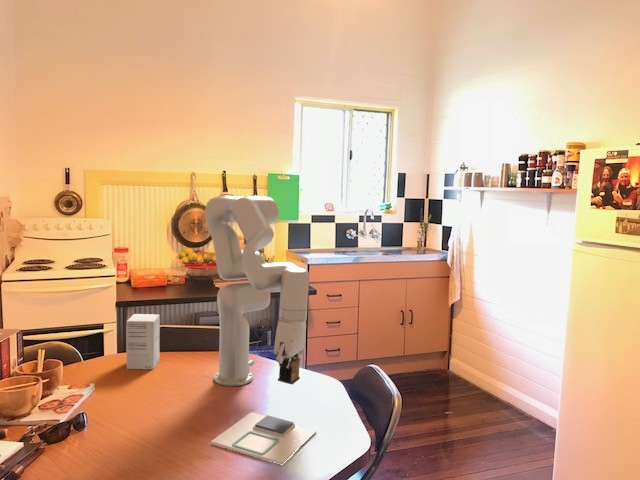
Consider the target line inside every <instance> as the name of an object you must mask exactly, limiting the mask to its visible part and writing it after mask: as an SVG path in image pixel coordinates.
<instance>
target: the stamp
mask: <svg viewBox="0 0 640 480" xmlns="http://www.w3.org/2000/svg"><path fill="white" fill-rule="evenodd" d="M284 360H286V362H287V359H286V358H284ZM300 362H301V359H300V358H296V357H291V363H290V368H291V381H290V382H286V381H282V380H280V379H279V377H278V378H277V381H278V382H281V383H285V384H289V385H294V384H295V383H296V382H298V381H299V380H300V378H301V377H300ZM278 372H279V373H278V375H280V371H278Z"/></svg>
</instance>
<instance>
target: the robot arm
mask: <svg viewBox="0 0 640 480" xmlns="http://www.w3.org/2000/svg"><path fill="white" fill-rule="evenodd" d="M204 209H205V210H204V211H205V212H204V217H205V223H206V226H207V229H208V231H209V234H210V237H211V240H212V243H213V249H214V256H215V257H214V259H215V263H216V269H217V273H218V276H219V277H220V278H221V280H224V281H237V280H248V282H238V283H229V284H226V285H224V286H222V287H220V289H218V292H217V296H216V297H217V298H216V302H217V307H218V314H219V317H218V318H219V343H218V344H219V346H218V347H219V348H218V353H219V357H218V371H217V372H215V373H214V375H213V381H214V382H215V383H216V384H218V385H221V386H226V387H227V386H228V387H236V386H239V387H240V386H243V385H246V384H248V383H250V382H252V381H253V379H254V375H253V373H252V372H251V371H250V368H251V367H253V366H255V364H256V363H255V361H254V359H249V355H250V352H249V351H250V324H249V322H248V320H247V319H246V318H245V316H244V313H249V312H257V311H261V310H264V309H266V308H268V307H269V305H270V303H271V291H277V290H280V292H279V293H280V294H279V308H278V309H279V311H278V322H277V325H276V331H275V339H274V348H273V354H274V355H275V356H276V359H275V361H276V363H278V367H279V372H280V375H279V374H278V375H279V376H278V378H279V379H280V380H282V381H286V382H290V381H291V368H290V363H291V357H296V358H300V360H301V355H302V351H303V350H304V349H305V346H306V337H307V336H306V335H307V334H306V333H307V332H306V331H307V330H306V328H307V323H306V321H307V316H308V301H309V287H310V273H309V271H308V270H307V269H305V268H302V267H299V266H297V265H296V264H295V263H293V262H290V261H284V262H283V261H282V262H280V261H279V262H266V261H265V259H264V257H263V255H262V253H260V250H262V249H264V248H265V247H267V246H268V245H269V244H270V243H271V242H272V241H273V239H274V236H275V234H274V233H275V232H274V229H273V228H272V226H271V225H270V224H273V223H275V222H276V221H277V220H278V217H279V213H280V212H279V206H278V204H277V202H276V201H275V200H274V199H273V198H271V197H268V196H238V195H236V196H234V195H233V196H232V195H220V196H215V197H212V198H210V199H209V200H208V201H207V202H206V205H205V208H204ZM229 223H236V224H237V226H238V227H239V230H240V231H241V234H242V236H243V239H244V240H245V242H246V244H245V245H244V247H243V249H242V248H241V247H242V246H241V243H240V237H239V235H238V233H237V232H236V231H235V229H234V228H233V227H232V226H231V224H229ZM284 358H286V359H287V362H286V360H284Z"/></svg>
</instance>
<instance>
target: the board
mask: <svg viewBox="0 0 640 480" xmlns="http://www.w3.org/2000/svg"><path fill="white" fill-rule="evenodd" d="M296 424H297V423H294V421H290V420H287V419H283V418H279V417H276V416H271V415H262V414H260V413H259V414H258V413H256V412H253V411H252V412H250V413H248V414H247V415H245V416H244V417H242V418H241V419H240V420H238V421H237V422H236V423H234V424H233V425H231V427H228V428H227V429H225V430H224V431H223V432H221V433H220V434H219V435H218V436H216V437H215V438H214V439H212V440H211V442H210V444H211V445H212V446H216V447H219V448H222V449H225V448H227V449H226V450H228V451H232V450H233V452H235V451H237V452H236V453H238V452H240V454H242V453H244V454H243V455H245V454H247V455H246V456H248V455H251V456H254V457H253V458H255V457H257V458H256V459H258V458H261V459H265V460H268V461H272V462H276V463H279V464H283V463H284V462H285V461H286V460H287V459H288V458H289V457H290V456H291V455H292V454H293V452H295V450H296V449H297V448H298V447H299V446H300V445H301V444H302V443H303V442H304V441H305V440H306V439H304V438H305V436H306V437H307V438H308V437H309V436H308V435H305V434H306V433H303V434H300V432H301V433H302V432H304V431H306V430H303V431H299V430H300V429H302V428H303V427H302V428H298V429H295V428H297V426H295V425H296ZM299 427H300V426H299ZM293 429H295V430H293ZM297 431H299V432H297ZM301 435H305V436H301ZM297 436H298V437H297ZM300 438H302V440H300ZM294 440H295V441H294ZM300 441H301V442H300ZM251 456H250V457H251ZM261 459H260V460H261ZM268 461H267V462H268Z"/></svg>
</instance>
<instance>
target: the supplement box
mask: <svg viewBox="0 0 640 480" xmlns="http://www.w3.org/2000/svg"><path fill="white" fill-rule="evenodd" d="M160 318H161V317H160V314H159V313H158V314H157V313H156V314H155V313H152V314H151V313H134V314H132V315H131V316H130V317H129V319H127V320H126V323H125V324H126V327H125V328H126V370H154V369H155V368H156V366H157V364H158V363H159V361H160V333H161V332H160V331H161V330H160V328H161V327H160V325H161V324H160V323H161V322H160V321H161V320H160Z"/></svg>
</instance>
